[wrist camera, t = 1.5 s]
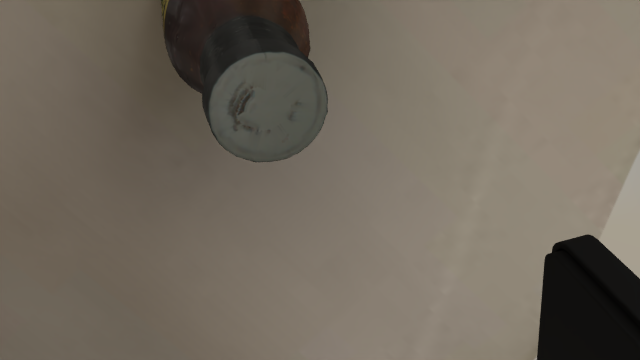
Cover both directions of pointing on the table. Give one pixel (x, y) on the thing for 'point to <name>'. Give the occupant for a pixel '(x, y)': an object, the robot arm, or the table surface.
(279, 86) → the sauce bottle
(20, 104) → the table surface
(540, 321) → the robot arm
